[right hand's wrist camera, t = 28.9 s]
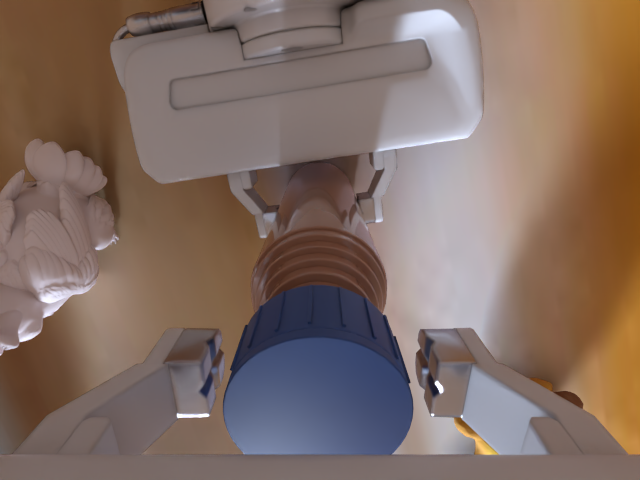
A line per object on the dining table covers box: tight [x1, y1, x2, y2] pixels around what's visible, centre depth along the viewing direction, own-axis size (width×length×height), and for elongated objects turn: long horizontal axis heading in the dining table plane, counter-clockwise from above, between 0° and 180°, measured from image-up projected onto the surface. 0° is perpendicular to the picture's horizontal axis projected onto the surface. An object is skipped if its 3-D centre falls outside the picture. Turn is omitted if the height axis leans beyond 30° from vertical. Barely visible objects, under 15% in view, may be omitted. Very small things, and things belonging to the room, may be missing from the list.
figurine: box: [0, 138, 119, 355], centre depth 23 cm, size 8×15×13 cm, turn 162°
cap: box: [223, 285, 413, 455], centre depth 9 cm, size 4×5×2 cm
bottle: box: [251, 162, 387, 313], centre depth 19 cm, size 5×5×21 cm
